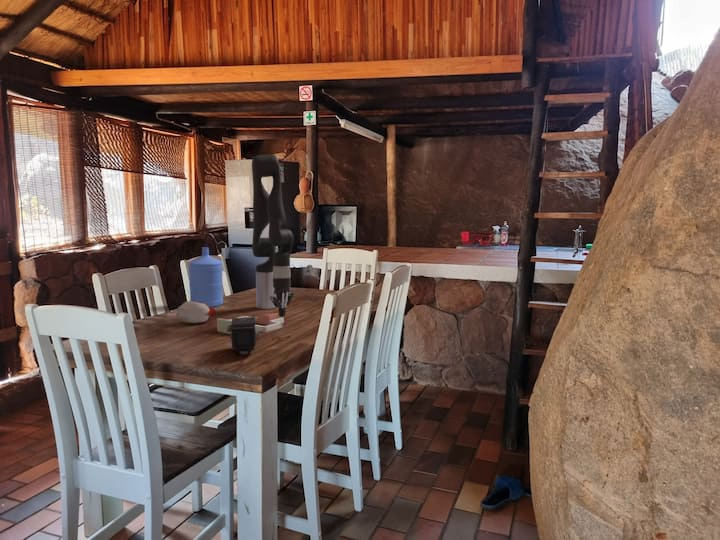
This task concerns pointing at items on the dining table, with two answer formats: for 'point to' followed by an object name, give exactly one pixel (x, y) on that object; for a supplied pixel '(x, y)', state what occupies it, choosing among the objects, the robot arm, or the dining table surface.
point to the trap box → (271, 325)
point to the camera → (243, 334)
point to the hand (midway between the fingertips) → (282, 316)
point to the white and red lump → (194, 312)
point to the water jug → (206, 280)
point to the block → (266, 317)
